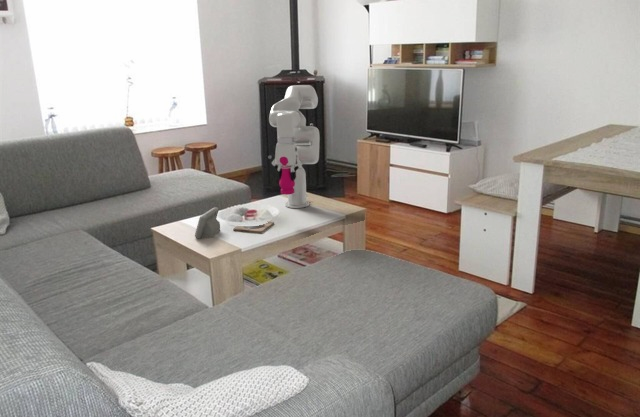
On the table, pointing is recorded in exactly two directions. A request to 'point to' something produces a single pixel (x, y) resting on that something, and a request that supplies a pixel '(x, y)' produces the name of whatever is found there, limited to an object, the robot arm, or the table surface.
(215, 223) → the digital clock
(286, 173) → the pepper mill
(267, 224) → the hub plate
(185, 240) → the table surface
